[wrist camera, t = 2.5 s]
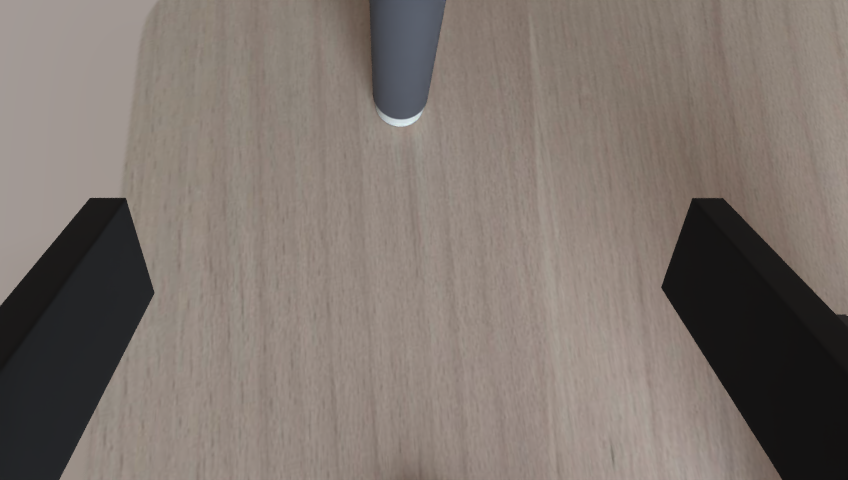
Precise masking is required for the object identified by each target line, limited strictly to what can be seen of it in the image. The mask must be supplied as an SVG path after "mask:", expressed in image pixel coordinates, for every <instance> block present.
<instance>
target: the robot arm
mask: <svg viewBox="0 0 848 480" xmlns="http://www.w3.org/2000/svg"><path fill="white" fill-rule="evenodd" d="M661 288H662V290H663V291H664V293H665V294H666V296H667V298H668V299H669V301H670V302H671V304H672V306H673V307H674V309H675V310H676V312H677V313H678V315H679V317H680V318H681V320H682V321H683V323H684V325H685V326H686V328H687V329H688V331H689V332H690V334H691V336H692V337H693V339H694V340H695V342H696V344H697V345H698V347H699V348H700V350H701V351H702V353H703V355H704V356H705V358H706V359H707V361H708V363H709V364H710V366H711V367H712V369H713V370H714V372H715V374H716V375H717V377H718V378H719V380H720V381H721V383H722V385H723V386H724V388H725V389H726V391H727V393H728V394H729V396H730V397H731V399H732V400H733V402H734V404H735V405H736V407H737V408H738V410H739V412H740V413H741V415H742V416H743V418H744V419H745V421H746V423H747V424H748V426H749V427H750V429H751V431H752V432H753V434H754V435H755V437H756V438H757V440H758V442H759V443H760V445H761V446H762V448H763V450H764V451H765V453H766V454H767V456H768V457H769V459H770V461H771V462H772V464H773V465H774V467H775V469H776V470H777V472H778V473H779V475H780V476H781V478H782V480H848V316H847V315H836V314H835V313H834V312H833V311H832V310H831V309H830V308H829V307H828V306H827V305H826V304H825V303H824V302H823V301H822V300H821V299H820V298H819V297H818V296H817V295H816V294H815V293H814V292H813V290H812V289H811V288H810V287H809V286H808V285H807V284H806V283H805V282H804V281H803V280H802V279H801V278H800V277H799V276H798V275H797V274H796V273H795V272H794V271H793V270H792V269H791V268H790V267H789V266H788V265H787V264H786V263H785V262H784V261H783V260H782V258H781V257H780V256H779V255H778V254H777V253H776V252H775V251H774V250H773V249H772V248H771V247H770V246H769V245H768V244H767V243H766V242H765V241H764V240H763V239H762V238H761V237H760V236H759V235H758V234H757V233H756V232H755V231H754V230H753V229H752V228H751V226H750V225H749V224H748V223H747V222H746V221H745V220H744V219H743V218H742V217H741V216H740V215H739V214H738V213H737V212H736V211H735V210H734V209H733V208H732V207H731V206H730V205H729V204H728V203H727V202H726V201H725V200H724V199H723V198H692V201H691V204H690V207H689V209H688V212H687V215H686V218H685V221H684V224H683V227H682V229H681V232H680V235H679V238H678V241H677V244H676V247H675V249H674V252H673V255H672V258H671V261H670V264H669V266H668V269H667V272H666V275H665V278H664V281H663V284H662V286H661ZM153 295H154V290H153V286H152V283H151V280H150V277H149V273H148V270H147V267H146V263H145V260H144V257H143V253H142V250H141V247H140V243H139V240H138V237H137V234H136V230H135V227H134V224H133V220H132V217H131V214H130V210H129V207H128V204H127V200H126V198H90V199H89V200H88V201H87V202H86V204H85V205H84V206H83V207H82V209H81V210H80V211H79V212H78V213H77V214H76V216H75V217H74V218H73V219H72V220H71V222H70V223H69V224H68V225H67V226H66V228H65V229H64V230H63V231H62V233H61V234H60V235H59V236H58V237H57V238H56V240H55V241H54V242H53V243H52V245H51V246H50V247H49V248H48V249H47V250H46V252H45V253H44V254H43V255H42V257H41V258H40V259H39V260H38V261H37V263H36V264H35V265H34V266H33V268H32V269H31V270H30V271H29V272H28V273H27V275H26V276H25V277H24V278H23V279H22V281H21V282H20V283H19V284H18V285H17V287H16V288H15V289H14V290H13V291H12V293H11V294H10V295H9V296H8V297H7V299H6V300H5V301H4V302H3V303H2V305H1V306H0V480H59V479H60V477H61V475H62V473H63V471H64V469H65V467H66V465H67V463H68V462H69V460H70V458H71V455H72V454H73V452H74V450H75V448H76V446H77V444H78V442H79V440H80V438H81V436H82V434H83V432H84V430H85V428H86V426H87V424H88V422H89V420H90V418H91V416H92V415H93V413H94V411H95V409H96V407H97V405H98V403H99V401H100V399H101V397H102V395H103V393H104V391H105V389H106V387H107V385H108V383H109V381H110V379H111V377H112V375H113V373H114V371H115V369H116V367H117V366H118V364H119V362H120V360H121V358H122V356H123V354H124V352H125V350H126V348H127V346H128V344H129V342H130V340H131V338H132V336H133V334H134V332H135V330H136V328H137V326H138V324H139V322H140V320H141V319H142V317H143V315H144V313H145V311H146V309H147V307H148V305H149V303H150V301H151V299H152V297H153Z"/></svg>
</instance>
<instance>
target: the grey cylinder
mask: <svg viewBox="0 0 848 480" xmlns="http://www.w3.org/2000/svg"><path fill="white" fill-rule="evenodd" d="M369 2H370V29H371V56H372V83H373V98H374V102H375V107H376V110H377V113H378V115H379V116H380V117H381V118H382V119H383V120H384V121H385V122H386V123H388V124H390V125H393V126H400V127H401V126H407V125H410V124H412V123H414V122H415V121H417V120H418V119H419V117H420V116H421V114H422V112H423V109H424V107H425V105H426V102H427V99H428V93H429V88H430V83H431V77H432V72H433V67H434V61H435V56H436V51H437V45H438V40H439V35H440V29H441V24H442V19H443V13H444V8H445V3H446V0H369Z"/></svg>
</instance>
